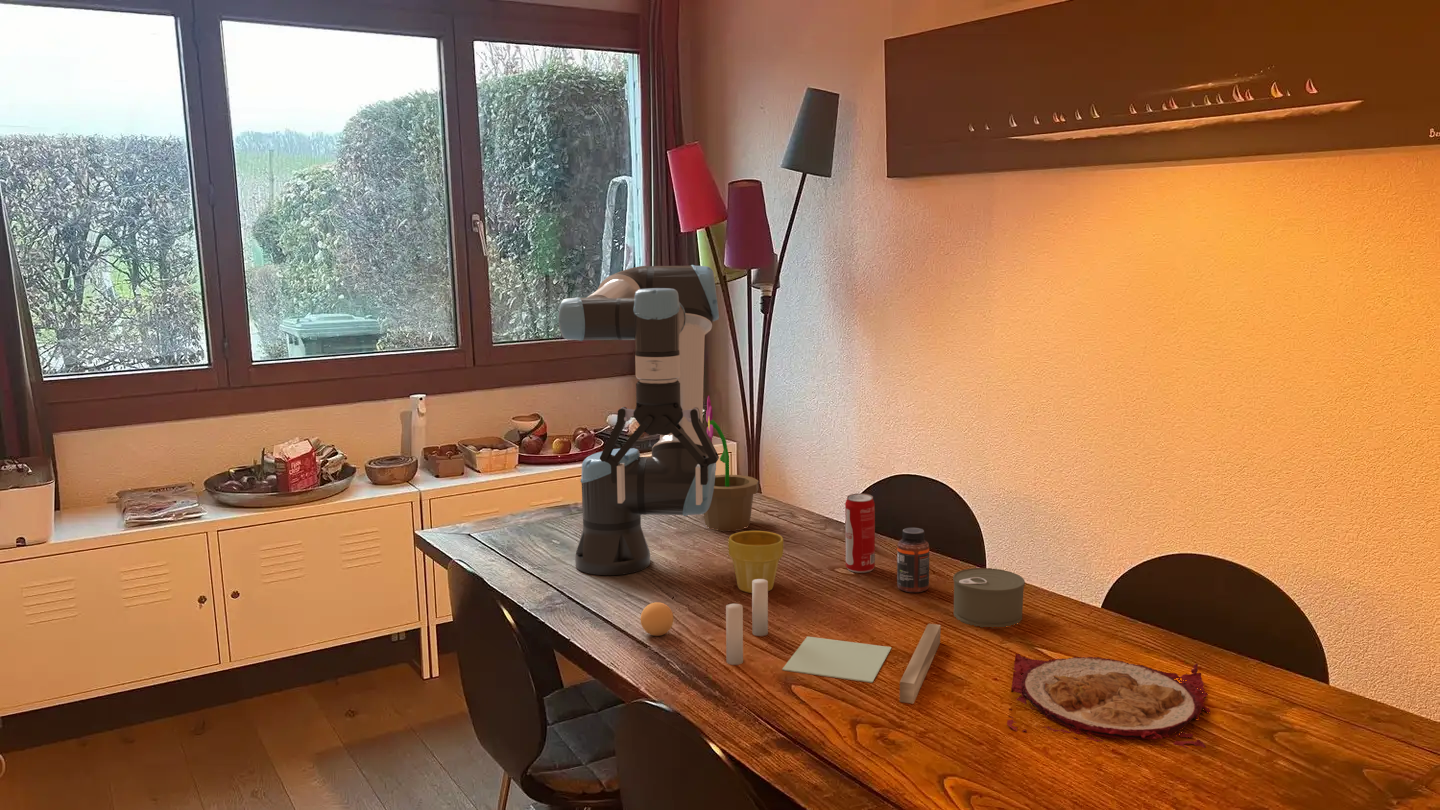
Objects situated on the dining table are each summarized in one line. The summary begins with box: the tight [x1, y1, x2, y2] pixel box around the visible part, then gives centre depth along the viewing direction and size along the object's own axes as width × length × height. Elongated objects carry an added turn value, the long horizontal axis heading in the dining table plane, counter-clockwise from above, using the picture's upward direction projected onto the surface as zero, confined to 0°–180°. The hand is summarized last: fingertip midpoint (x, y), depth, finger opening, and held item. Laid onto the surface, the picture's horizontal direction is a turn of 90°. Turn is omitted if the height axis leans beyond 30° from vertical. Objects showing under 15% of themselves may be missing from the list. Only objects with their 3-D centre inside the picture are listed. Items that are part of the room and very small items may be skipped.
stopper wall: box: [899, 623, 941, 705], centre depth 161 cm, size 2×24×3 cm, turn 160°
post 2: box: [751, 579, 769, 637], centre depth 176 cm, size 3×3×9 cm
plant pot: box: [727, 530, 784, 594], centre depth 199 cm, size 10×10×10 cm
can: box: [952, 567, 1026, 629], centre depth 183 cm, size 12×12×7 cm
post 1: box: [725, 603, 744, 666], centre depth 164 cm, size 3×3×9 cm
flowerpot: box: [703, 395, 759, 531], centre depth 240 cm, size 14×14×30 cm
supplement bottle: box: [896, 527, 930, 594], centre depth 197 cm, size 6×6×11 cm
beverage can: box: [844, 492, 876, 574], centre depth 208 cm, size 6×6×15 cm
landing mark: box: [781, 635, 892, 684], centre depth 166 cm, size 14×14×1 cm
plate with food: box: [1006, 653, 1211, 749], centre depth 149 cm, size 25×26×4 cm
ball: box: [640, 601, 674, 637], centre depth 176 cm, size 6×6×6 cm
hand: (660, 502), depth 182 cm, fingers open, 13 cm apart
